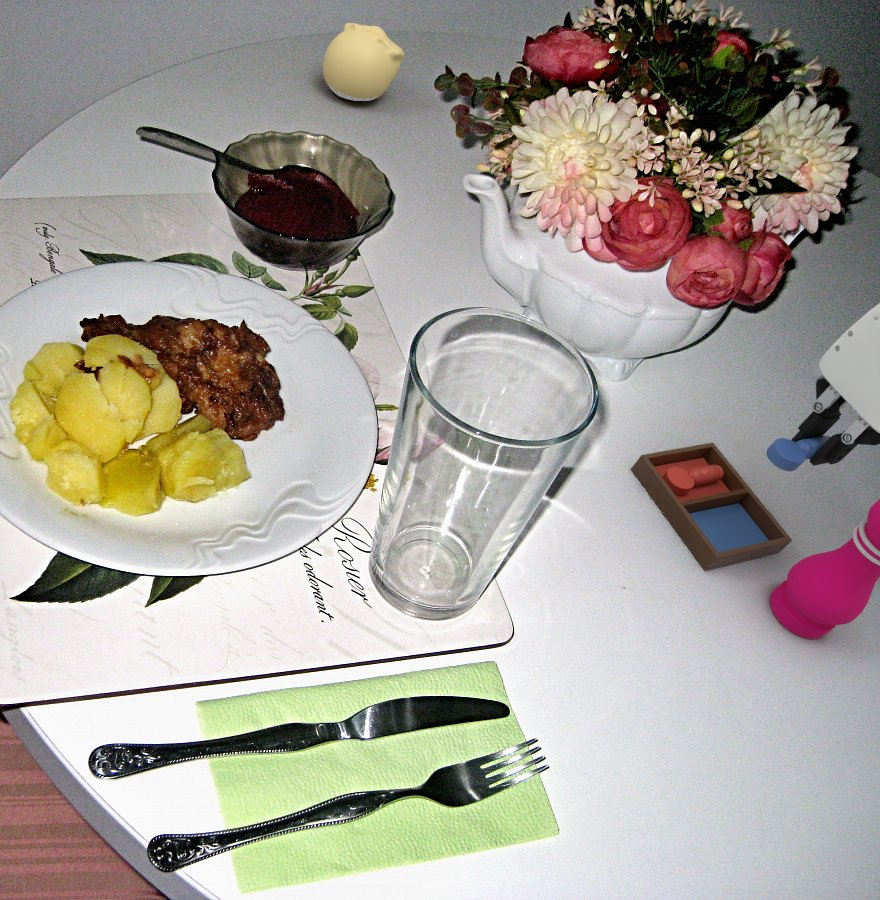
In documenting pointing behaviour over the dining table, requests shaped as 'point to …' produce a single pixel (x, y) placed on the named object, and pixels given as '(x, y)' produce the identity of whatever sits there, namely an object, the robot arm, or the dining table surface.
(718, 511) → the blue pad
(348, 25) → the sculpture
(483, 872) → the dining table surface
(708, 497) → the red pad
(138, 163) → the dining table surface
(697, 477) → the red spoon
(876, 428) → the robot arm
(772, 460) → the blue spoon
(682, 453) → the divided wooden tray
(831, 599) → the pink bowling pin
